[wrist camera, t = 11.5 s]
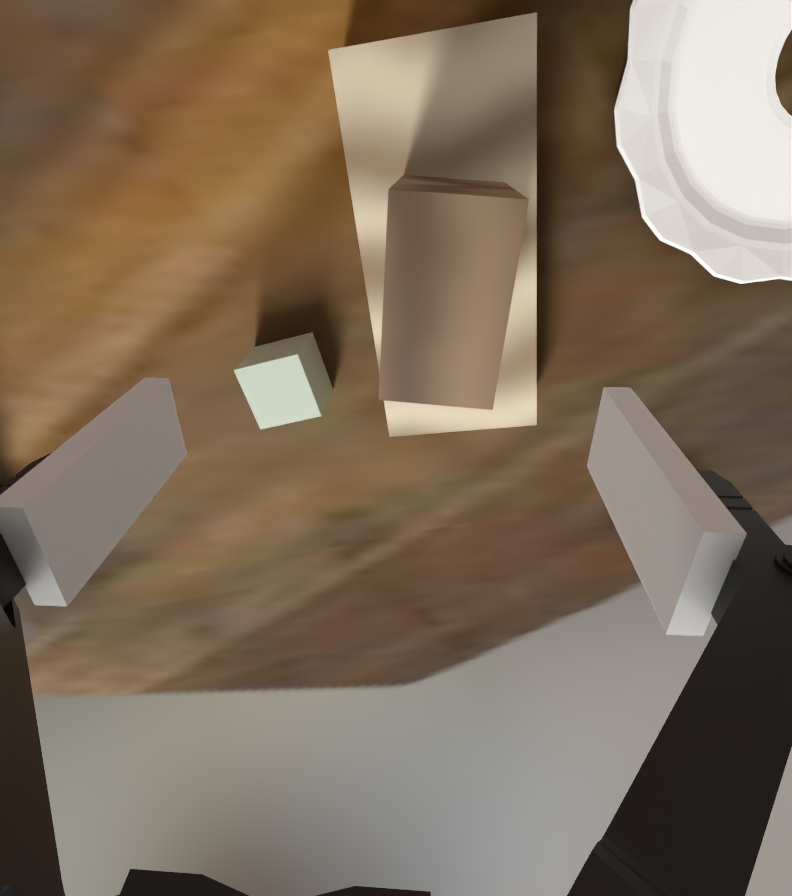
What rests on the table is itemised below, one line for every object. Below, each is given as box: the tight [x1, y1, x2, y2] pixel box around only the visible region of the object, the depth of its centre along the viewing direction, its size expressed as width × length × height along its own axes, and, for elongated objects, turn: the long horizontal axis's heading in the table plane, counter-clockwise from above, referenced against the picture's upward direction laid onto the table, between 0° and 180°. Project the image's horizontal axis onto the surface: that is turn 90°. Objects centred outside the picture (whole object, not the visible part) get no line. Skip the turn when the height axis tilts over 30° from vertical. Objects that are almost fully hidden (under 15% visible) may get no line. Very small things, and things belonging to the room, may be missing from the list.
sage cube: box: [234, 332, 333, 429], centre depth 41 cm, size 5×5×5 cm
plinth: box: [328, 12, 537, 437], centre depth 36 cm, size 24×11×5 cm, turn 8°
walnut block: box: [379, 175, 529, 410], centre depth 29 cm, size 6×10×10 cm, turn 177°
